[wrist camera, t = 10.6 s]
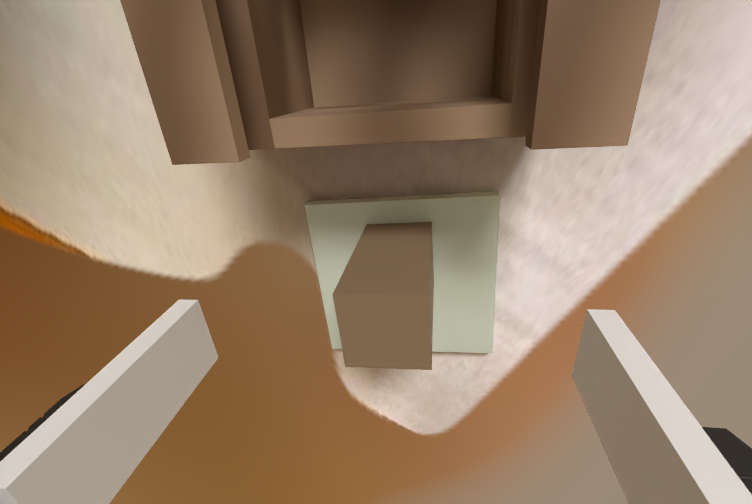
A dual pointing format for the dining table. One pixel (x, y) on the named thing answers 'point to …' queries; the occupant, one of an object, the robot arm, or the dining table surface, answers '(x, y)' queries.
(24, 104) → the dining table surface
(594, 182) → the dining table surface
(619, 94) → the box
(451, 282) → the lid
